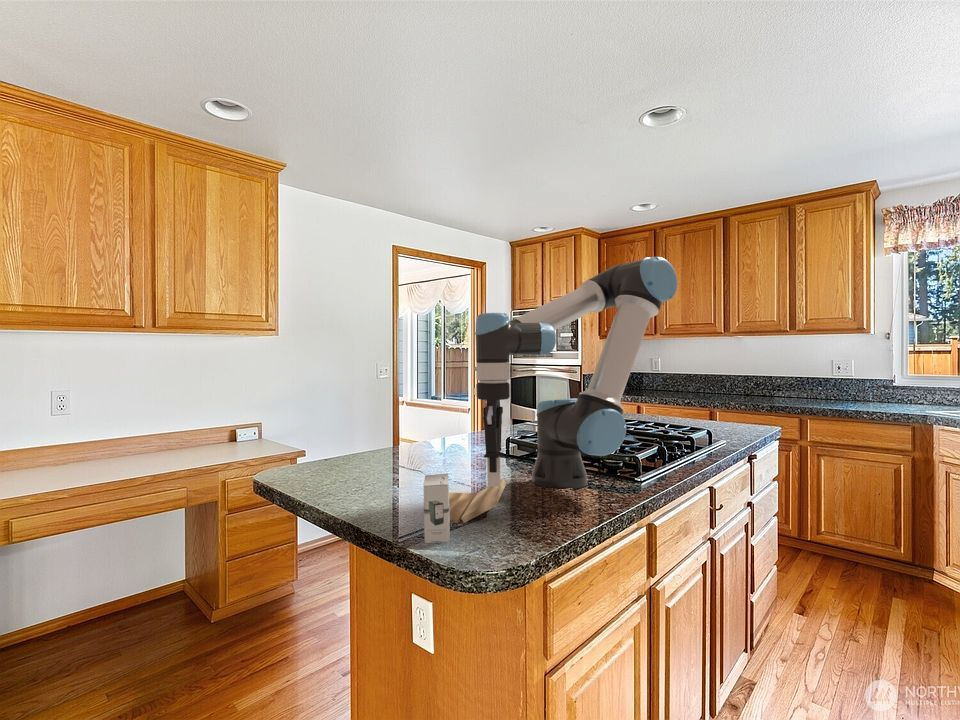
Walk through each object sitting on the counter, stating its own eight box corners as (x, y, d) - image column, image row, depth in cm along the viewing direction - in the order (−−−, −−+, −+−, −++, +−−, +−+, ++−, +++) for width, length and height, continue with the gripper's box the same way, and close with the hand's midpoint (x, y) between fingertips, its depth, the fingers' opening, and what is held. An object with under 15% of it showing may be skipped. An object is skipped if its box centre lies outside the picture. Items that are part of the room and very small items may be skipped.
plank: (507, 481, 123) (504, 477, 123) (496, 505, 104) (493, 500, 104) (479, 497, 124) (477, 492, 124) (463, 523, 106) (460, 517, 106)
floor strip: (476, 498, 125) (476, 493, 125) (459, 526, 105) (459, 519, 105) (449, 497, 126) (449, 492, 126) (427, 524, 107) (427, 518, 107)
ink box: (425, 530, 103) (424, 473, 103) (449, 529, 103) (448, 472, 103) (423, 547, 94) (422, 484, 94) (450, 545, 95) (449, 483, 95)
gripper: (481, 379, 121) (482, 477, 121) (471, 383, 108) (472, 492, 108) (512, 379, 119) (513, 478, 120) (505, 383, 107) (507, 494, 107)
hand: (494, 485), depth 114 cm, fingers closed
